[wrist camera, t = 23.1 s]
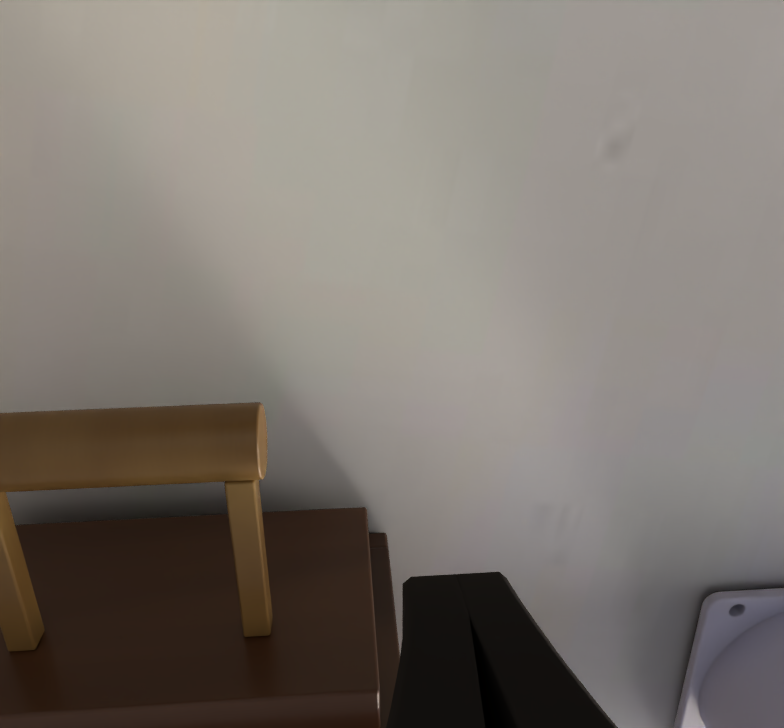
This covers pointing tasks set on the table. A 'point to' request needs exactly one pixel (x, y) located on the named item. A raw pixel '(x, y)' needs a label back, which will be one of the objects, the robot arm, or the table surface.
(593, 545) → the table surface
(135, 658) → the drawer
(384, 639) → the cabinet
